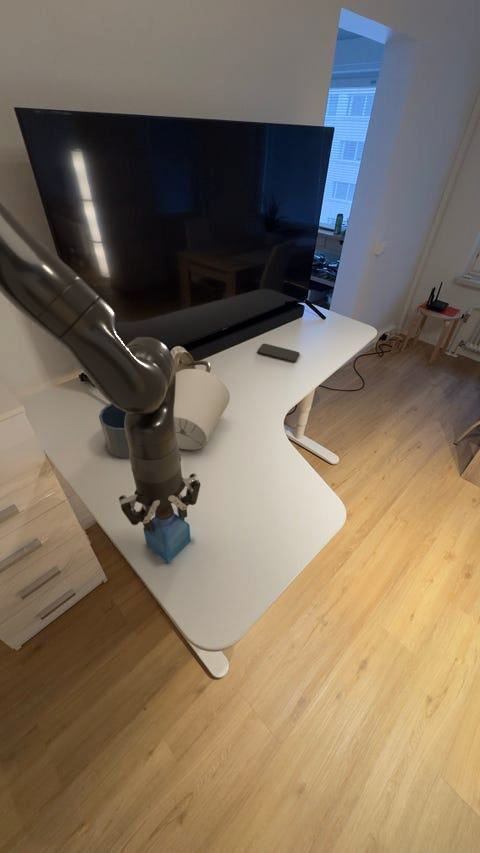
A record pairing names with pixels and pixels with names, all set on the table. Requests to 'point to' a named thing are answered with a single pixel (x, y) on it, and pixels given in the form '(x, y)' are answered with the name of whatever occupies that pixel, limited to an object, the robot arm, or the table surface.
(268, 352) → the phone
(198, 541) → the table surface
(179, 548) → the perfume bottle
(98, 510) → the table surface
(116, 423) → the holder
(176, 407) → the light fixture
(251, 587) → the table surface
